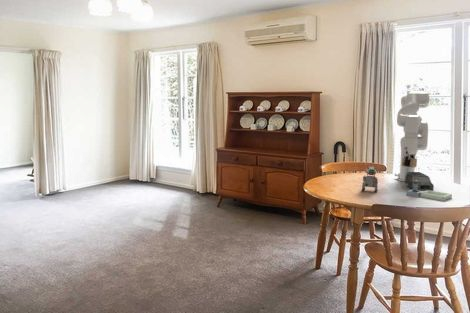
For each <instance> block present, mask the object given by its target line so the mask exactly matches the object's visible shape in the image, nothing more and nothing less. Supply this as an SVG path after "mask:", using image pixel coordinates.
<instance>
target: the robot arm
mask: <svg viewBox="0 0 470 313" xmlns="http://www.w3.org/2000/svg"><path fill="white" fill-rule="evenodd" d="M430 99H431V98H430V94H429V93H428V92H427V91H426V92H425V91H411V92H408V93H407V94H406V95H404V96H402V97H401V98H400V103H401V104H400V105H401V108H400V109H399V110H398V112H397V117H396V123H397V125H398V126H399V127H402V128H403V129H402V130H403V133H404V136H402V137H401V138H400V142H399V143H400V161H399V163H400V166H399V173H398V172H395V173H394V176H395V177H397V178H396V180H397V181H399V182H404V183H405V177H406V174H407V172H415V168H416V167H406V166H410V160H409V159H410V158H416V156H417V154H418V151H426V150H427V148H428V139H429V138H428V137H429V124H428V122H427V121H423V119H422V117H421V115H419V114H418V112H419V110H420V109H425V108H427V107H428V106H429V103H430ZM402 158H404V159H405V163H404V165H405V166H402Z"/></svg>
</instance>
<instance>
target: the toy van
mask: <svg viewBox="0 0 470 313" xmlns="http://www.w3.org/2000/svg"><path fill="white" fill-rule="evenodd" d="M413 180H418V181H419V183H418V190H419V191H426V190H431V191H435V190H434V187H435V186H434V184H433V183H432V180H431V178H430V176H428V175H427V174H424V173H423V172H420V171H414V172H407V174H406V177H405V182H404V184H405V185H406V188H411V189H413V182H412V181H413Z"/></svg>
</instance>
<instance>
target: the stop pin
mask: <svg viewBox="0 0 470 313" xmlns="http://www.w3.org/2000/svg"><path fill="white" fill-rule="evenodd" d="M412 182H413V188H412V189H413V192H418V183H419V181H418V180H413V181H412Z"/></svg>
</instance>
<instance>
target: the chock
mask: <svg viewBox="0 0 470 313" xmlns="http://www.w3.org/2000/svg"><path fill="white" fill-rule="evenodd" d="M409 160H410V166H406V167H415V168H417V164H418V159H417V158H416V157H415V158H410V159H409ZM404 163H405V159H404V158H402V166H405V165H404Z"/></svg>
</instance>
